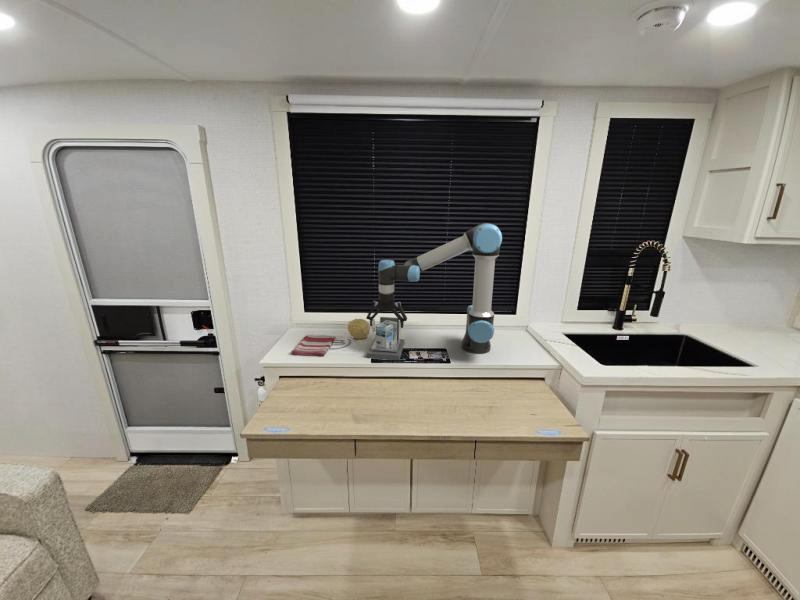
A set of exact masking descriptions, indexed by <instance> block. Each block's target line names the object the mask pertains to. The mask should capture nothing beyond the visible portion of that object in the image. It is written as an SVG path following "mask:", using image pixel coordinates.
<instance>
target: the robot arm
mask: <svg viewBox="0 0 800 600" xmlns="http://www.w3.org/2000/svg"><path fill="white" fill-rule="evenodd" d="M502 234H503V233H502V232H501V229H500V228H499V227H498V226H497V225H496V224H493V223H490V222H482V223H480V224H478V225H476V226H474V227H473V228H471V229H469V230H467V231H465V232H464V233H463V235H462V236H459V237H457V238H455V239H453V240H451V241H449V242H447V243H445V244H442V245H440V246H438V247H436V248H434V249H432V250H429V251H427V252H425V253H423V254H421V255H419V256H417V257H414V258H413V259H409V260H407V261H405V263H403V264H395V260H392V259H382V260H379V262H378V269H377V271H378V272H377V273H378V301H376V300H373V301H372V303H371V306H370V310H369V311H368V313H367V316H366V318H365V319H366V320H369V326H370V327H371V331H372V332H371V333H372V334H375V333H376V325H375V322H376V321H375V320H376V319H375V317H376V316H377V315H379V313H380V312H381V311H383V312H390V311H391V313H393V315H394V316H395V318H398V319H399V336H400V335H402V329H403V328H404V323H405V322H407V321H408V317H407V315H406V313H405V311H404V309H403V306H402V302H401V301H398V302H395V282H398V281H399V282H411V283H413V282H418V281H420V275H421V272H424V271H425V270H428V269H430V268H432V267H434V266H437V265H439V264H442V263H443V262H444V263H445V261H447V260H451V259H452V258H454V257H457V256H459V255H462V254H463V253H465V252H468V251H471V255H472V256H473V257H474V260H475V261H474V273H473V274H474V275H473V293H472V294H473V295H472V304H471V305H468V306H467V310H466V322H465V323H466V324H465V334H464V335H463V338H462V340H461V344H460V346H461V349H462V350H464V351H466V352H468V353H472V354H477V355H478V354H487V353H489V352H490V351H491V347H492V345H491V340H492V339H493V337H494V335H495V328H494V321H495V320H494V319H495V312H493V311H492V303H493V302H492V301H493V290H494V279H495V265H496V259H497V258H498V257H499V256H500V249H501V247H500V246H501V245H502V241H503V235H502ZM376 306H379V308H378V309H377V310H376V311H375V312H374V313H373V310H375V307H376ZM395 306H396V307H397V308H398V310H397V309H396V308H395ZM398 311H399V312H400V313H399V312H398ZM372 313H373V314H372Z"/></svg>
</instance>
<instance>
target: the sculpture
mask: <svg viewBox="0 0 800 600" xmlns="http://www.w3.org/2000/svg"><path fill="white" fill-rule="evenodd" d="M347 331H348V333H349V334H350V336H351V337H352V338H353V339H355V340H362V339H365V338H367V337H368V336H369V335H370V331H371V326H370V322H368V321H367V319H366V320H365V319H363V318H355V319H352V320H349V322H348V324H347Z"/></svg>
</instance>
